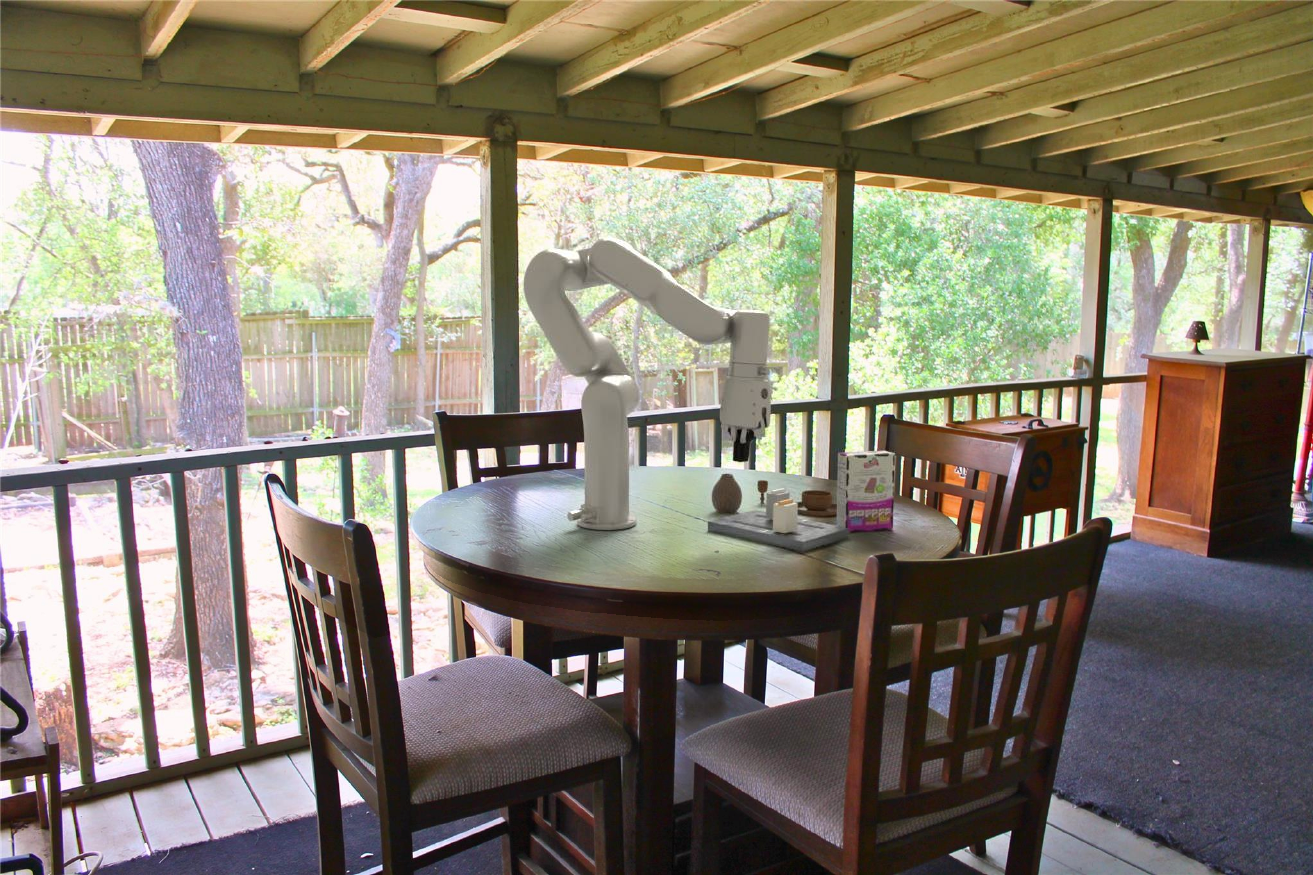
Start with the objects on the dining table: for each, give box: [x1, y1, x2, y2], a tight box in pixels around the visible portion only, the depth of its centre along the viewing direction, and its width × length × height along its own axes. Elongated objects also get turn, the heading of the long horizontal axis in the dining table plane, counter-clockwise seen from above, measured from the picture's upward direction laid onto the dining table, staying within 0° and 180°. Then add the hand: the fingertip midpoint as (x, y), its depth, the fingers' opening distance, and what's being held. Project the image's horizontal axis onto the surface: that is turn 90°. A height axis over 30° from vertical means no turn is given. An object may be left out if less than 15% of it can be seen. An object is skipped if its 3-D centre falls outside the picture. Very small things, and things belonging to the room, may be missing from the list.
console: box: [707, 509, 850, 553], centre depth 187 cm, size 16×24×2 cm, turn 46°
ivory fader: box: [773, 498, 799, 533], centre depth 180 cm, size 4×3×6 cm
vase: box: [711, 473, 743, 515], centre depth 207 cm, size 7×7×9 cm
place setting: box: [757, 479, 837, 517], centre depth 213 cm, size 18×20×6 cm
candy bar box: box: [836, 450, 896, 533], centre depth 191 cm, size 11×5×16 cm, turn 105°
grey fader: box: [765, 487, 791, 520], centre depth 191 cm, size 4×3×6 cm
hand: (740, 461), depth 186 cm, fingers closed
